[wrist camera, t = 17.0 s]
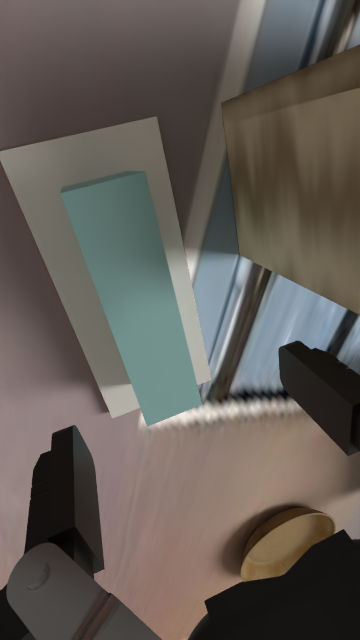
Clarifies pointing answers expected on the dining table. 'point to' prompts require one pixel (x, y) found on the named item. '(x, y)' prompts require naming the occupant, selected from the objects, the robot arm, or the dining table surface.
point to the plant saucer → (283, 542)
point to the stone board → (64, 250)
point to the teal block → (135, 288)
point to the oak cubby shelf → (301, 176)
